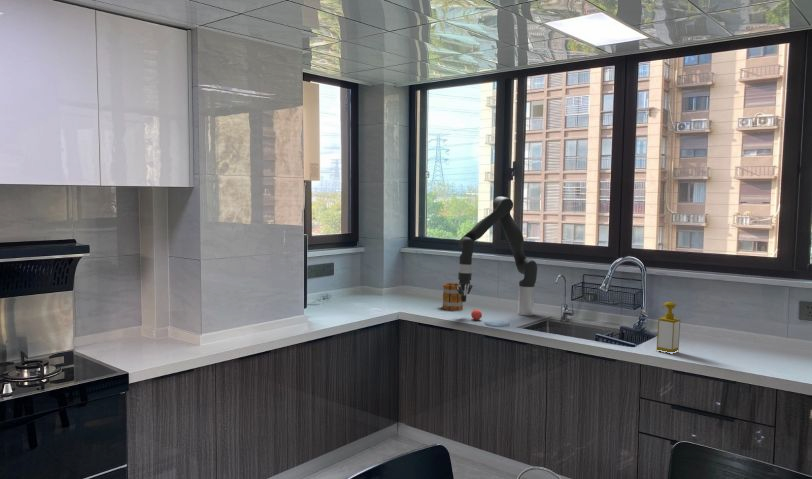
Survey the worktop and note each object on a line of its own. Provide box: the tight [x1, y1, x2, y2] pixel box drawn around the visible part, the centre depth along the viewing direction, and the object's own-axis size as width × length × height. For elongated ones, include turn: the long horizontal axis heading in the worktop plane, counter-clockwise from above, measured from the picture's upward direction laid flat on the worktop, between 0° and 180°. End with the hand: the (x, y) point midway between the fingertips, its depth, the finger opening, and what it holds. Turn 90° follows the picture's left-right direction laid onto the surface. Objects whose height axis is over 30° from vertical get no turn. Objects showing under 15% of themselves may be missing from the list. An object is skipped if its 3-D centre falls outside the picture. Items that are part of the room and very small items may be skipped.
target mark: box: [483, 320, 510, 328], centre depth 335 cm, size 14×14×1 cm
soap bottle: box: [656, 301, 681, 352], centre depth 281 cm, size 7×13×24 cm, turn 134°
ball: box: [471, 308, 483, 321], centre depth 345 cm, size 6×6×6 cm
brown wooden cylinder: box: [441, 282, 464, 311], centre depth 382 cm, size 20×14×15 cm
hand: (463, 301), depth 351 cm, fingers closed
